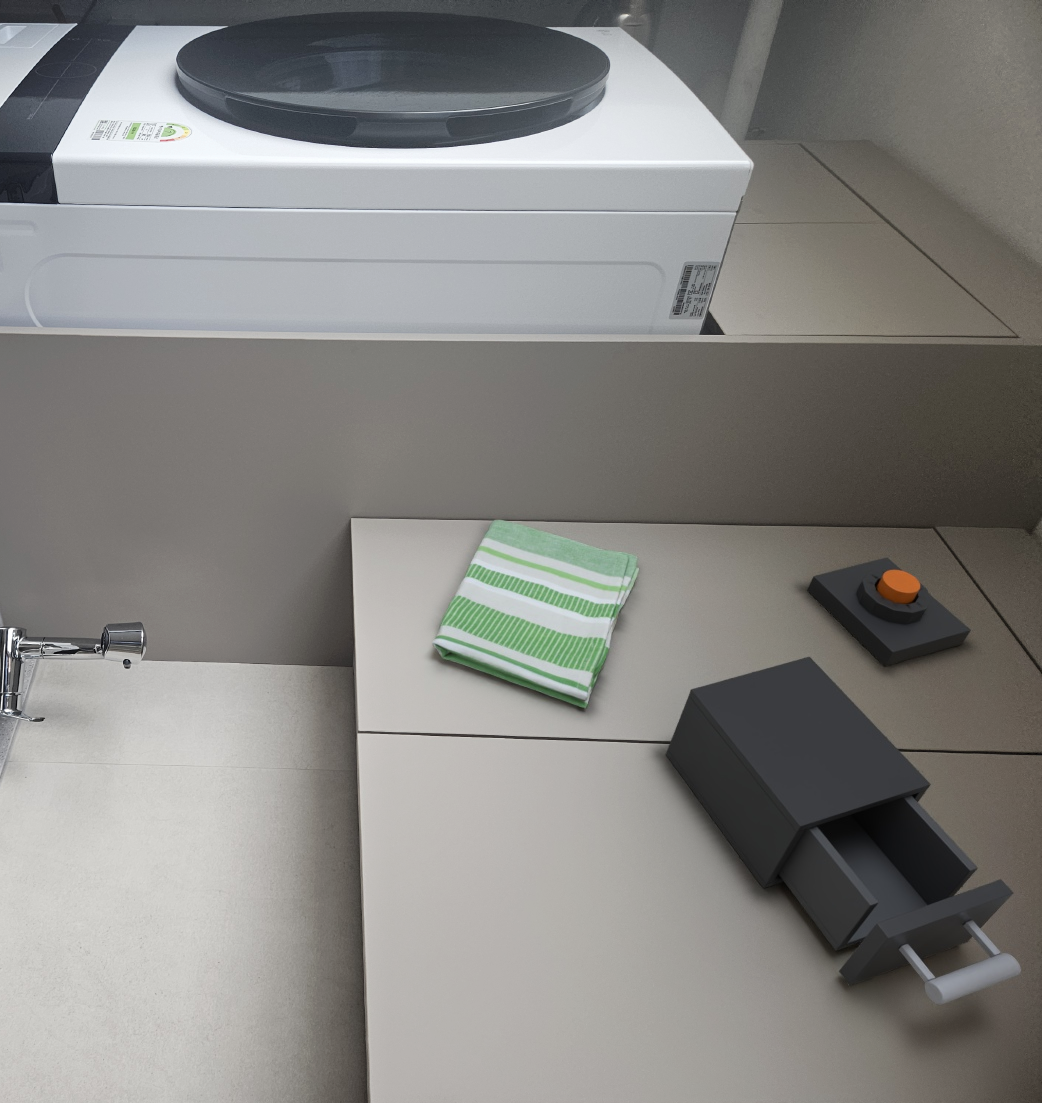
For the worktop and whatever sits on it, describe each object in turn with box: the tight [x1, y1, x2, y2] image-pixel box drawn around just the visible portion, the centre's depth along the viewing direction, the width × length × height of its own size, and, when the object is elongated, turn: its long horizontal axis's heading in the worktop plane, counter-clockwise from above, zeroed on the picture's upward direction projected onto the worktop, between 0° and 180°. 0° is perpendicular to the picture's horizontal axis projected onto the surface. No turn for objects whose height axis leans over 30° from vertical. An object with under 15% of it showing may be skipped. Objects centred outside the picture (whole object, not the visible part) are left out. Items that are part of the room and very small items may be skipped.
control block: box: [806, 556, 972, 667], centre depth 103 cm, size 12×10×4 cm
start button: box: [877, 570, 921, 604], centre depth 102 cm, size 4×4×2 cm
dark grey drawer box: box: [665, 656, 932, 889], centre depth 84 cm, size 15×13×10 cm
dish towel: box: [432, 519, 640, 709], centre depth 105 cm, size 18×23×3 cm
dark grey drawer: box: [778, 795, 1022, 1006], centre depth 76 cm, size 18×11×8 cm, turn 18°
